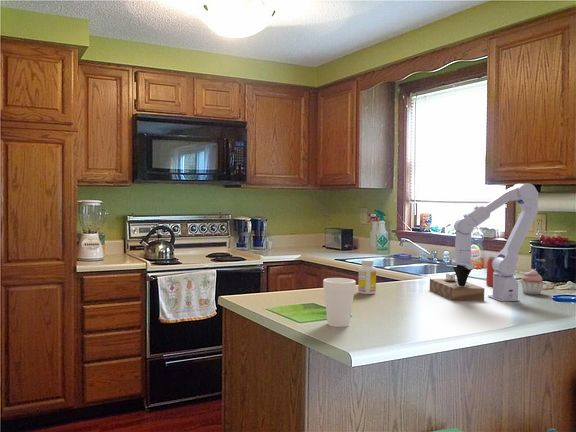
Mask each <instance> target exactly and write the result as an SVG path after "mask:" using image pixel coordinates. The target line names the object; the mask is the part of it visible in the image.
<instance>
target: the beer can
mask: <svg viewBox="0 0 576 432" xmlns="http://www.w3.org/2000/svg"><path fill="white" fill-rule="evenodd" d="M495 257H496V256H495ZM495 257H492V256H491V257H489V256H488V259H487V262H486V284H485V285H486V286H488V287H492V288H493V275H494V274H493V273H494V271H495V270H494V269H493V268H492V261H493V259H494V258H495Z"/></svg>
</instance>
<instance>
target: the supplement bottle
mask: <svg viewBox="0 0 576 432" xmlns="http://www.w3.org/2000/svg"><path fill="white" fill-rule="evenodd" d="M360 261H361V265H360V267H358V283H357V284H358V286H357V287H358V290H357V291H358V293H359V294H362V295H374V294H376V291H377V289H376V287H377V286H376V285H377V268H376V266H374V264H375V263H374V259H361V260H360Z"/></svg>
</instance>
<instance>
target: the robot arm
mask: <svg viewBox="0 0 576 432" xmlns="http://www.w3.org/2000/svg"><path fill="white" fill-rule="evenodd" d="M538 196H539V192H538V190H537V188H536V186H535V185H533V184H532V183H530V182H529V183H528V182H527V183H516V184H514V185H513V186H511V187H509V188H507V189H506V190H504V191H503V192H502V193H500V194H499V195H497V196H496V197H495V198H493V199H492V200H491V201H489V202H488V203H487V204H486V205H478V206H477V205H476V206H474V207H473V210H471V211H470V212H468V213H467V214H466V213H465V214H464V215H463V217H461V218H458V219H457V220H455V223H454V224H453V228H454V230H455V241H454V242H455V243H454V244H455V246H454V259H453V258H452V259H451V265H456V266H452V267H453V268H452V269H453V270H454V272H455V273H454V274H455V277H456V279H457V281H458V285H459V286H465V284H466V282H468V281H467V280H468V277H469V275H470V273H471V271H472V270H475V264H474V263H473V262H472V261H471V260H472V259H471V257H472V256H471V255H472V233H473V232H474V229H475V228H477V227H478V226H479V225H481V224H482V223H484V222H485V221H486V220H488V219H490V217H491V213H493V212H494V211H495V210H497V209H499V208H500V207H502V206H503V205H505V204H507V203H508V202H515V201H516V202H517V204H518V206H519V208H520V211H521V212H520V214H519V215H518V218H517V220H516V222H515V223H514V226H513V228H512V230H511V232H510V235H509V236H508V238H507V241H506V242H505V244H504V246H503V248H502V249H501V250H500V251H499V252H498V254H497V256H495V258H494V259H493V261H492V268H493V269H494V270H495V271H494V273H493V274H494V275H493V287H492V294H487V297H488V298H492V299H494V300H497V301H499V302H521V300H520V299H519V282H518V280H517V279H516V278H515V275H514V274H515V273H516V270H517V263H518V260H519V256H518V255H519V254H518V253H519V251H520V249H522V248H521V247H522V245H523V243H524V241H525V240H526V237H527V236H528V235H527V234H528V233H529V232H530V229H531V227H532V225H533V223H534V220H535V219H536V216H537V214H538V212H539V201H538Z"/></svg>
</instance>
